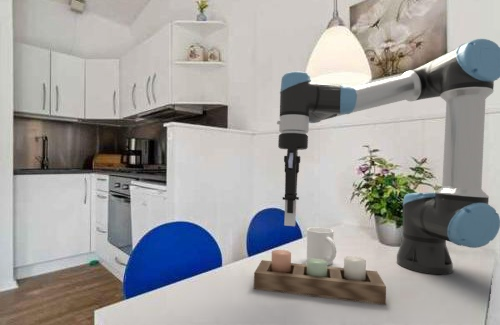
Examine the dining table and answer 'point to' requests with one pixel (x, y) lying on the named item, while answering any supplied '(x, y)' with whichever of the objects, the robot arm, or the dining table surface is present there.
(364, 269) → the white short cylinder
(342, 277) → the wooden compartment tray
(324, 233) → the mug
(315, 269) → the pale green rounded piece
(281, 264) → the peach rounded piece
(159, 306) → the dining table surface
